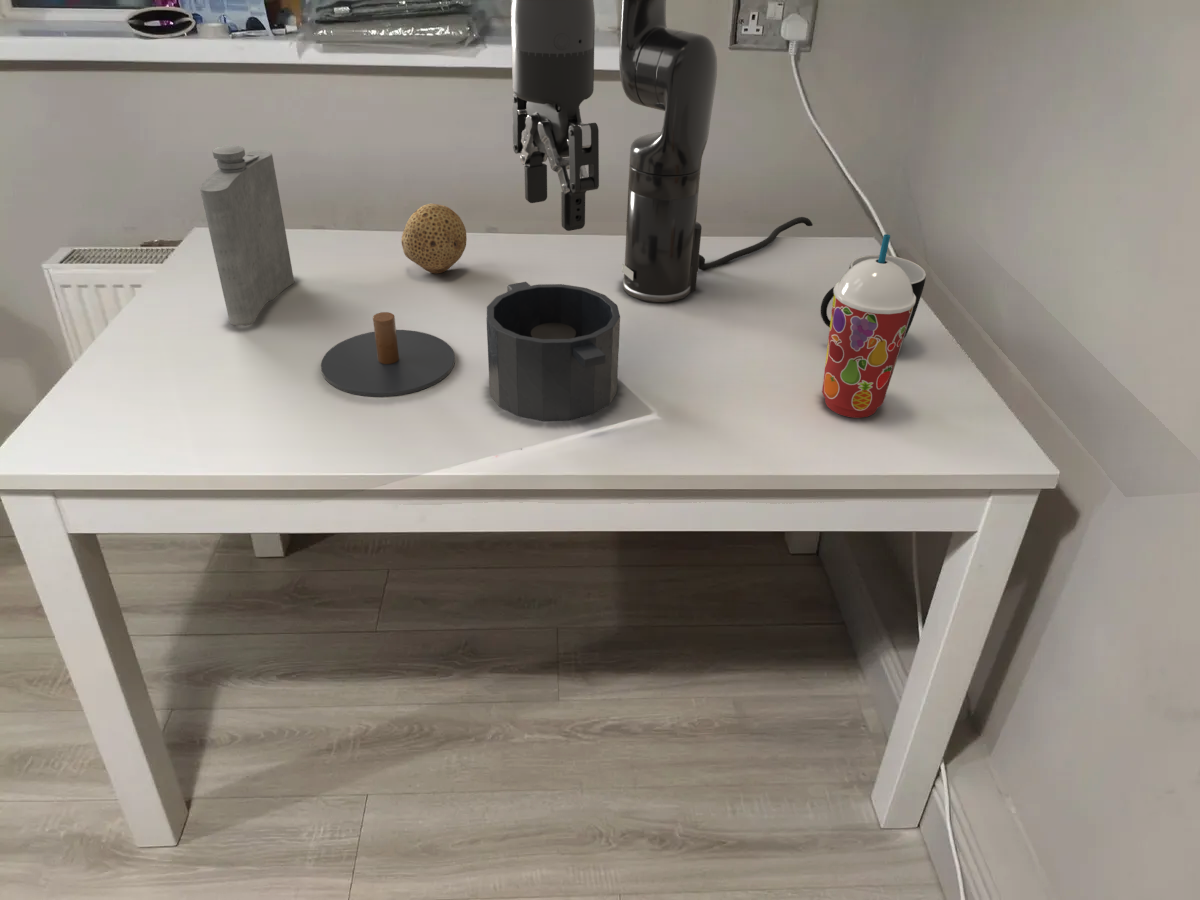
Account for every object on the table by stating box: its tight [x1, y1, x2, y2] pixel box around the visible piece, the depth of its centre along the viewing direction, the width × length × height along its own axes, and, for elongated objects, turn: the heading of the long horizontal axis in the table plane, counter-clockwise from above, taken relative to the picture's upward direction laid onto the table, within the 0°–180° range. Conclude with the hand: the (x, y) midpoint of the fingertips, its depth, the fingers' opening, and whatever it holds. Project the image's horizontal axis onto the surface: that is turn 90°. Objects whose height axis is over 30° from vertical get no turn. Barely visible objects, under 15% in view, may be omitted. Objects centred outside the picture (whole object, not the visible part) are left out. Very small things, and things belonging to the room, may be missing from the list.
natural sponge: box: [400, 203, 468, 274], centre depth 126 cm, size 9×9×10 cm
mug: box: [820, 254, 927, 341], centre depth 112 cm, size 12×9×10 cm
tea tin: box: [530, 323, 576, 339], centre depth 101 cm, size 5×5×7 cm
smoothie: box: [821, 233, 916, 419], centre depth 97 cm, size 8×8×20 cm
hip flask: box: [199, 144, 295, 327], centre depth 115 cm, size 16×4×20 cm, turn 175°
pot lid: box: [320, 311, 456, 398], centre depth 105 cm, size 15×15×7 cm
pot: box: [485, 281, 621, 422], centre depth 101 cm, size 14×20×10 cm
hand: (554, 214), depth 92 cm, fingers open, 8 cm apart
